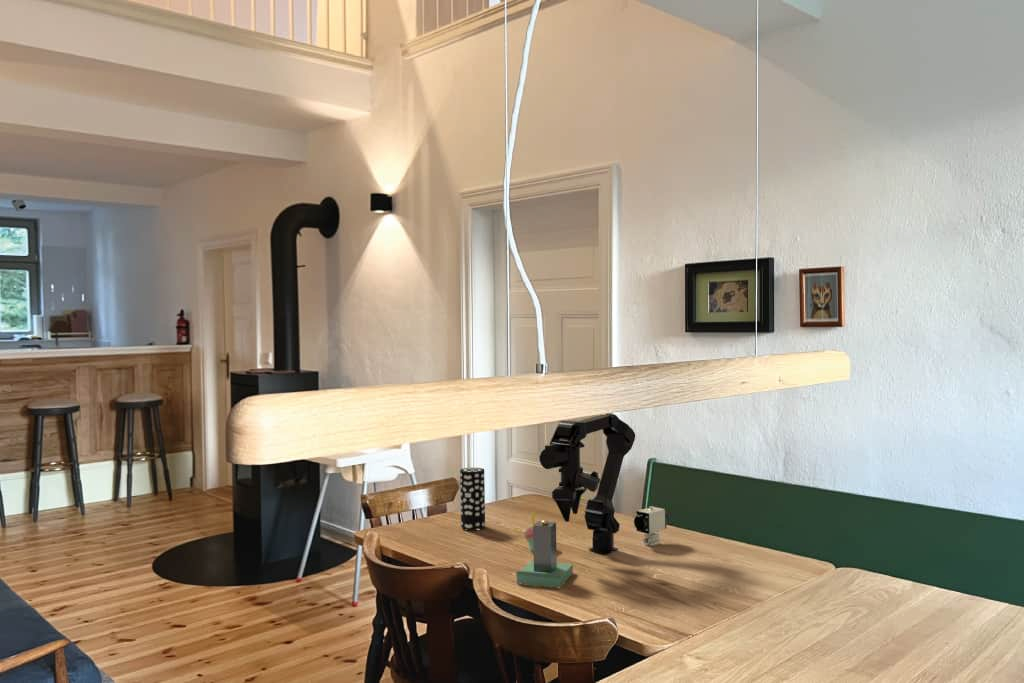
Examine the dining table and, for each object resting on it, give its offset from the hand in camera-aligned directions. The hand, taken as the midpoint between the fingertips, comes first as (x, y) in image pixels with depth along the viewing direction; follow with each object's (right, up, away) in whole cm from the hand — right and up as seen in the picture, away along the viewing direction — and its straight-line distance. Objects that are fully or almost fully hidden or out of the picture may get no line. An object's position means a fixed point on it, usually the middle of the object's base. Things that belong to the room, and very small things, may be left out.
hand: (571, 517), depth 224 cm
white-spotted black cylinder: (-31, -13, +40) cm, 52 cm away
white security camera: (+26, -12, +17) cm, 34 cm away
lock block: (-8, -11, -14) cm, 20 cm away
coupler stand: (-8, -13, -14) cm, 21 cm away
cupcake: (-9, -13, +14) cm, 21 cm away
